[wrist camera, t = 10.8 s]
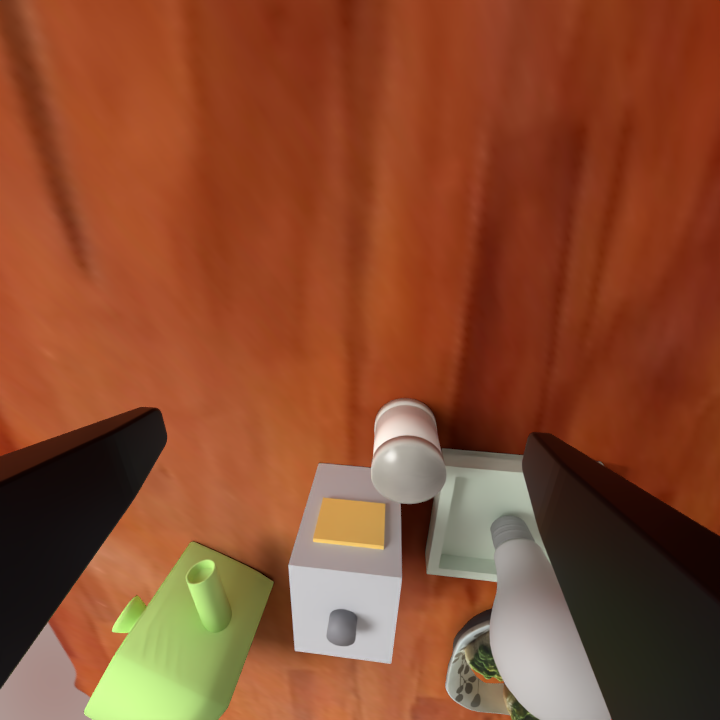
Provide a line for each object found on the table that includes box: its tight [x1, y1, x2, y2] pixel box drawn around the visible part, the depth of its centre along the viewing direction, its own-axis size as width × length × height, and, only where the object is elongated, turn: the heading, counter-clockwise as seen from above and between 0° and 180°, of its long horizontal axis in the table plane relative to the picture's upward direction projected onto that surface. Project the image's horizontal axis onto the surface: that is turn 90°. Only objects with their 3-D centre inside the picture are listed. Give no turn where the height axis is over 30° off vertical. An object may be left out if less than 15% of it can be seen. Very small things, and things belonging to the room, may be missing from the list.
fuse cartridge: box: [371, 398, 446, 504], centre depth 21 cm, size 4×4×5 cm
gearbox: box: [84, 542, 274, 720], centre depth 28 cm, size 18×10×10 cm, turn 149°
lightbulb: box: [489, 515, 611, 720], centre depth 20 cm, size 6×6×11 cm
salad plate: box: [445, 609, 539, 720], centre depth 32 cm, size 19×18×5 cm
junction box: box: [288, 463, 402, 664], centre depth 23 cm, size 6×9×9 cm
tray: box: [425, 448, 604, 582], centre depth 25 cm, size 11×11×2 cm
